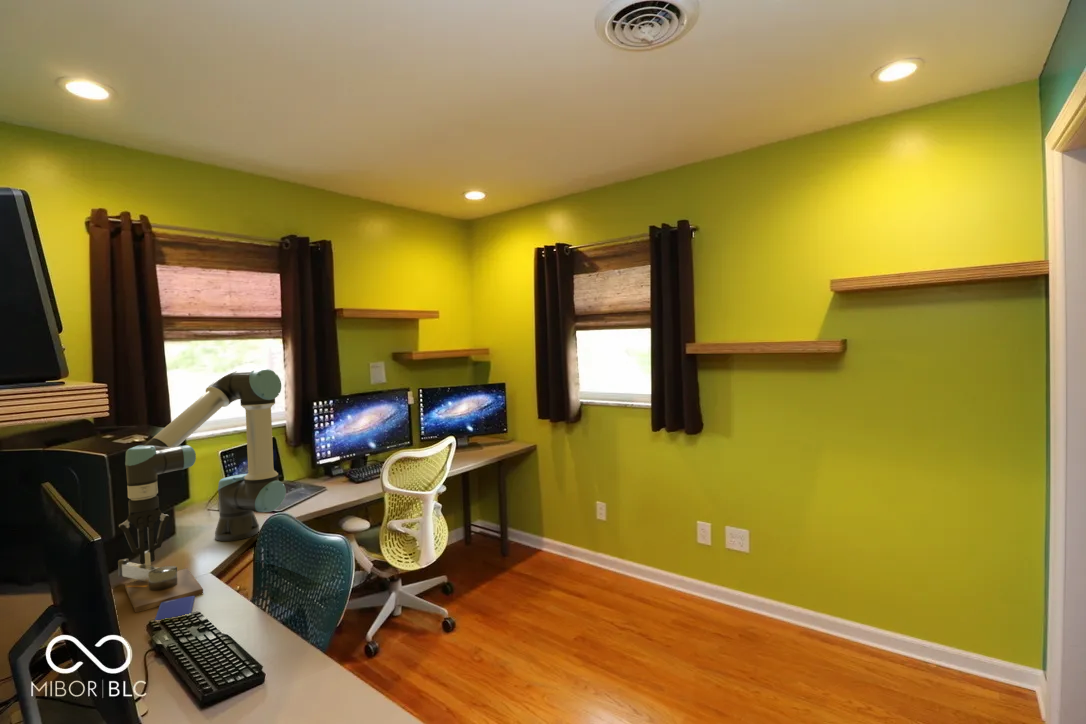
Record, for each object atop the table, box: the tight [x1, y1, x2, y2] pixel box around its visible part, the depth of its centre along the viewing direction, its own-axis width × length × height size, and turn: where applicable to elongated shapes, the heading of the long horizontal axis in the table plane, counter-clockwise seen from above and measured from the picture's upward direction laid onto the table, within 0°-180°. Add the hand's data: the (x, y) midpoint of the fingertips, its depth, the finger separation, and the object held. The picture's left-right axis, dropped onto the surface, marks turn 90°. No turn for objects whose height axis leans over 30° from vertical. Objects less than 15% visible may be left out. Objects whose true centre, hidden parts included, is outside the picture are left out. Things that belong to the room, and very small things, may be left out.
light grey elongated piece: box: [117, 558, 178, 590], centre depth 165 cm, size 23×7×5 cm, turn 68°
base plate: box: [124, 567, 204, 613], centre depth 162 cm, size 16×22×2 cm
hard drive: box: [154, 596, 196, 621], centre depth 149 cm, size 2×8×12 cm
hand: (148, 572), depth 168 cm, fingers closed
